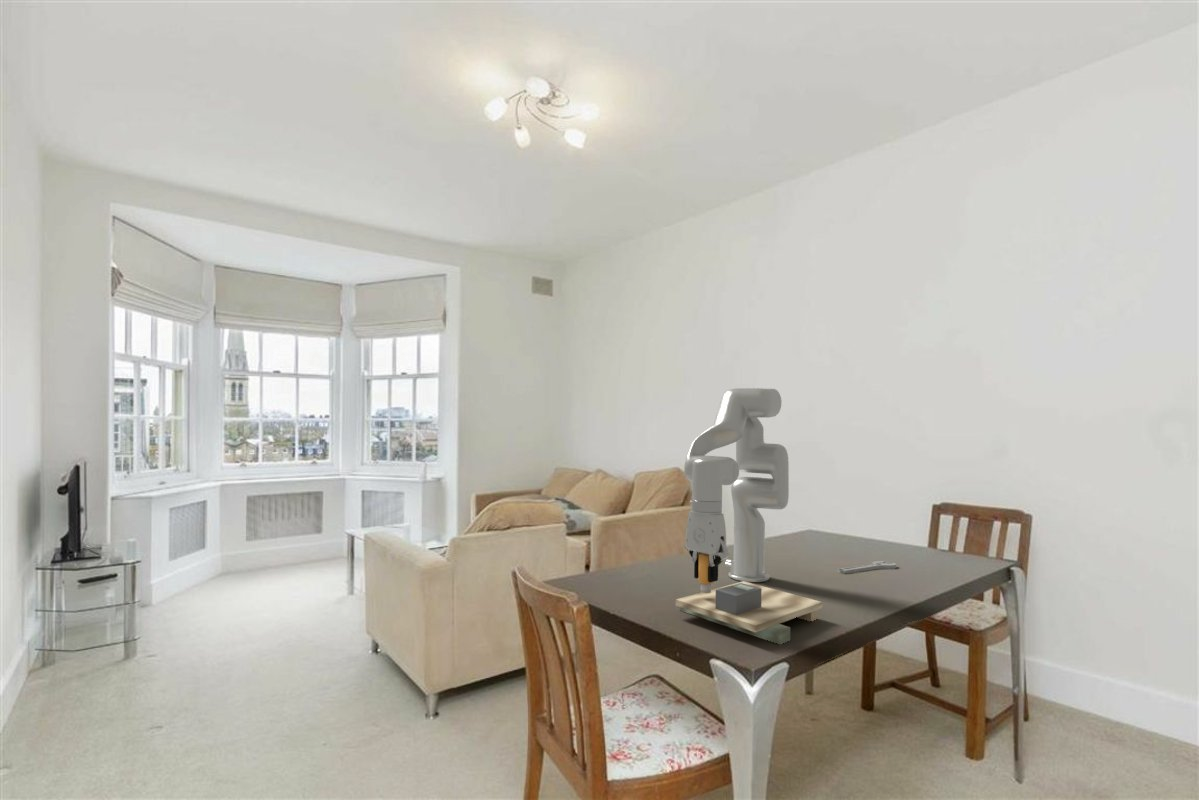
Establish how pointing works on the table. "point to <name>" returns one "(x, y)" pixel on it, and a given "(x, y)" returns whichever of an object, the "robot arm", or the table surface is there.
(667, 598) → the table surface
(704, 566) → the orange and grey cylinder
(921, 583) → the table surface
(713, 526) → the robot arm
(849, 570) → the adjustable wrench
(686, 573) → the table surface
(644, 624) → the table surface
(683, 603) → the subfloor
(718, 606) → the block
